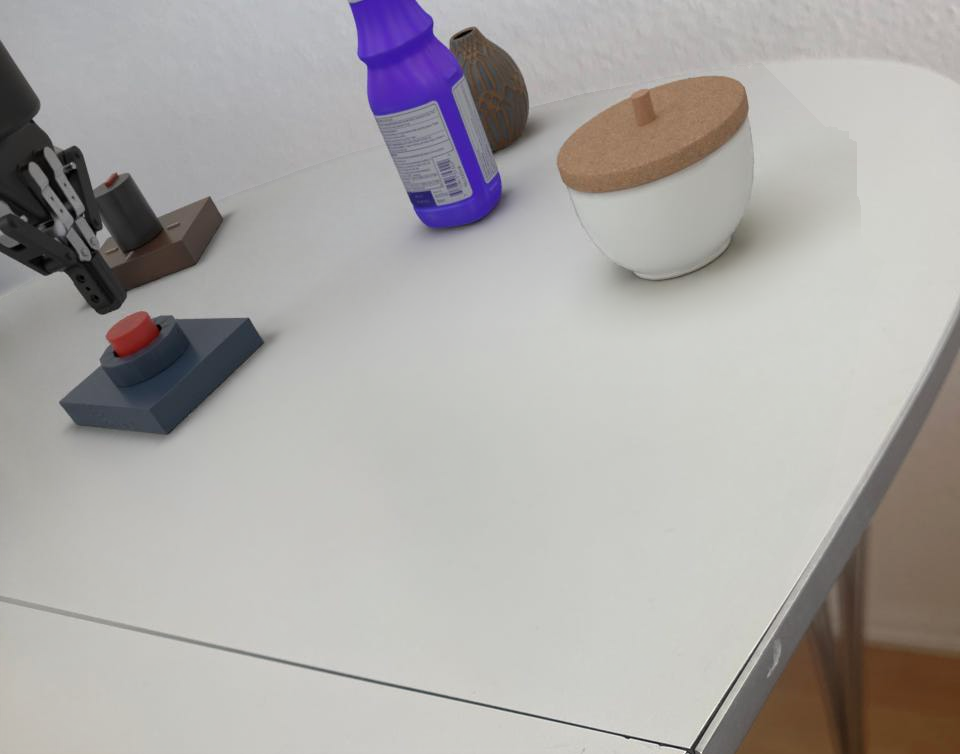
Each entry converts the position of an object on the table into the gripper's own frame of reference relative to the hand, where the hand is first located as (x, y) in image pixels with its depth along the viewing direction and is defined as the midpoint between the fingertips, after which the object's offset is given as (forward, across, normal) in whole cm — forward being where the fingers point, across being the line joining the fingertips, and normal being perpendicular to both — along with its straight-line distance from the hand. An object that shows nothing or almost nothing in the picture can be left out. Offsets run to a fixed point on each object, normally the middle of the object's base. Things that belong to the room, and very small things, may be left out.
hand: (114, 307), depth 72 cm
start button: (+3, 0, 0) cm, 3 cm away
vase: (+7, -25, +26) cm, 37 cm away
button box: (+7, 0, 0) cm, 7 cm away
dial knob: (+4, -29, -12) cm, 32 cm away
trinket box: (+7, +6, +40) cm, 41 cm away
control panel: (+7, -29, -12) cm, 32 cm away
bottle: (+7, -12, +24) cm, 28 cm away
